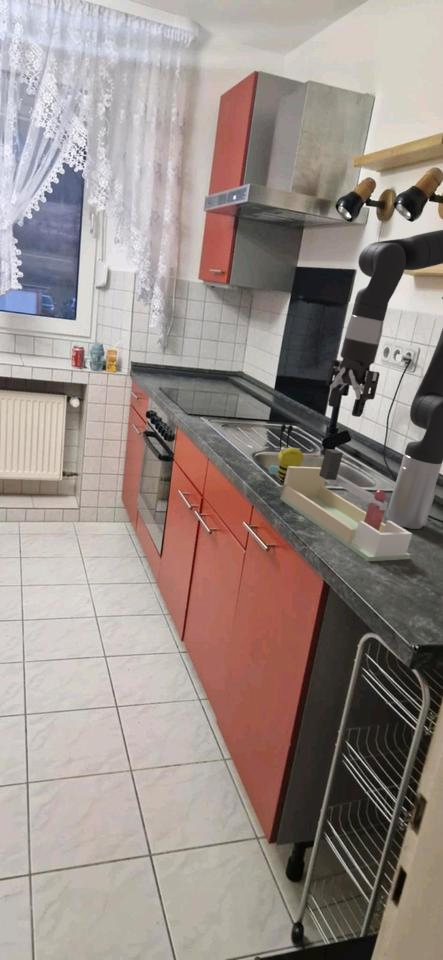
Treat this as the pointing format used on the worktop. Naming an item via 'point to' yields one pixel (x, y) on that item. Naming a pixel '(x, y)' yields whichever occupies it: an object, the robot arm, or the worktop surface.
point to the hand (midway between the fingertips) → (343, 411)
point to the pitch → (342, 517)
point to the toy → (286, 457)
